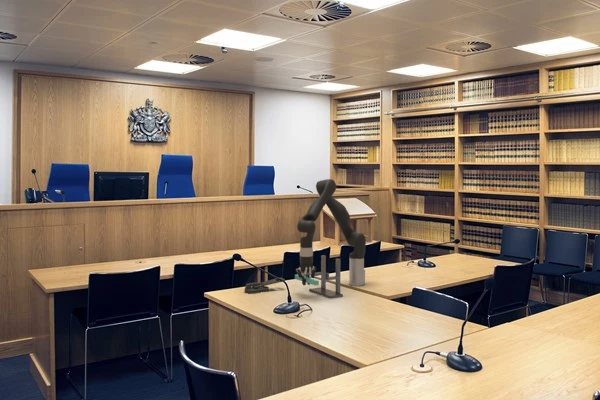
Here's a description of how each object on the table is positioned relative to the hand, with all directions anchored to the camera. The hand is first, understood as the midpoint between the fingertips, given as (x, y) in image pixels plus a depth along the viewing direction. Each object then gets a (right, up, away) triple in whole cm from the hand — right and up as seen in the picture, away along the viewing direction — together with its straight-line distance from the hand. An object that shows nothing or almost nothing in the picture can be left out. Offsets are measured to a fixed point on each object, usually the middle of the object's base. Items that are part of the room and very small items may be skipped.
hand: (306, 284), depth 306 cm
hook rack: (+11, -7, +7) cm, 15 cm away
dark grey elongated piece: (-25, -6, +16) cm, 31 cm away
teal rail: (0, +2, 0) cm, 2 cm away
